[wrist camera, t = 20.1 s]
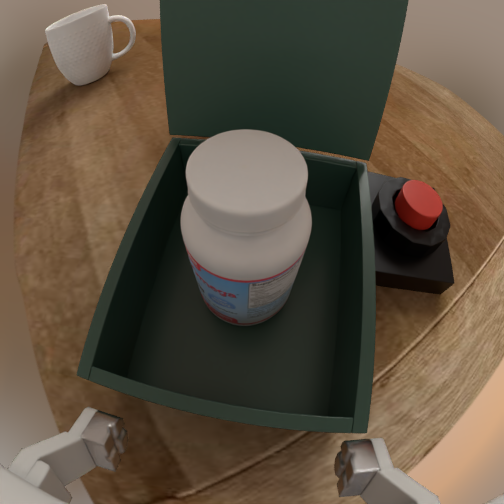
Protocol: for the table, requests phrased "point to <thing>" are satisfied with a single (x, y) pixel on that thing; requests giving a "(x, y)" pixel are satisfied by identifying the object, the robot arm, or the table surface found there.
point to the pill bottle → (246, 223)
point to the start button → (418, 205)
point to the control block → (407, 243)
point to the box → (244, 337)
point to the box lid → (281, 68)
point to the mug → (86, 43)
